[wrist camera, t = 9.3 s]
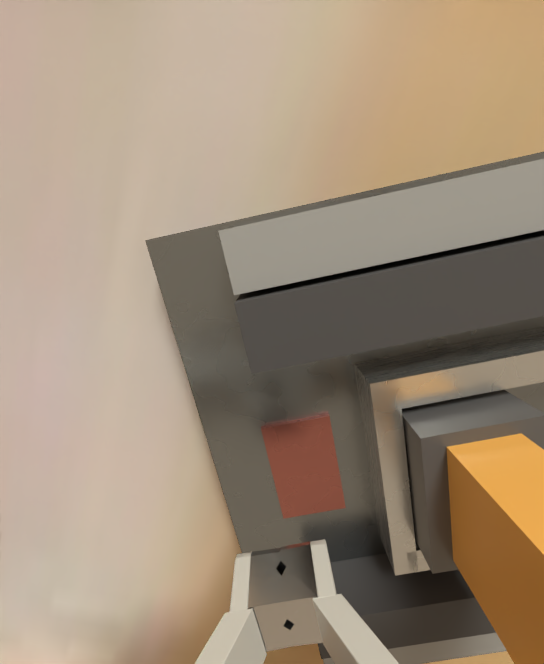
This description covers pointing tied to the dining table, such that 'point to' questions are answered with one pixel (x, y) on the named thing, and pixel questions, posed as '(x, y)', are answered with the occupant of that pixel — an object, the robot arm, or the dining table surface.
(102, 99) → the dining table surface
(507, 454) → the lever
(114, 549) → the dining table surface
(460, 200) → the pair of panel rails
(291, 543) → the panel
